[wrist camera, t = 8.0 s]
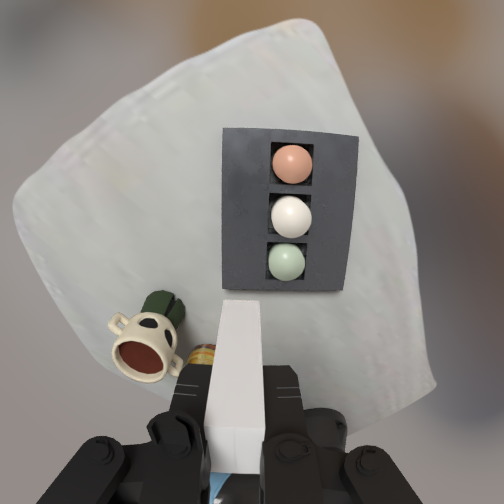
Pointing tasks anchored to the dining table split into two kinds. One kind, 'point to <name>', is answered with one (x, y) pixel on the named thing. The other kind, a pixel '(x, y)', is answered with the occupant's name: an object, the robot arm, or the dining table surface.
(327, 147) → the panel
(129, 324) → the character mug
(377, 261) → the dining table surface
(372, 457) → the robot arm
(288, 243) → the sage button
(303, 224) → the cream button
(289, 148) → the terracotta button
